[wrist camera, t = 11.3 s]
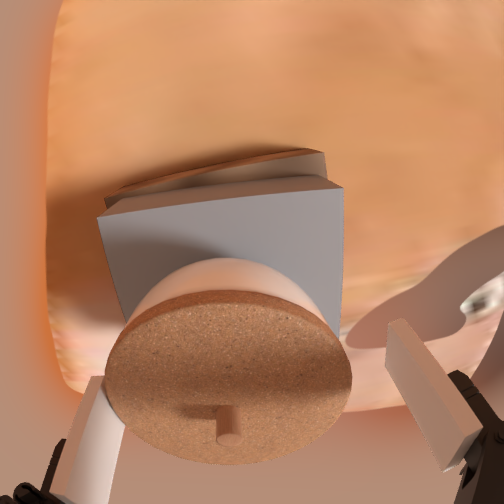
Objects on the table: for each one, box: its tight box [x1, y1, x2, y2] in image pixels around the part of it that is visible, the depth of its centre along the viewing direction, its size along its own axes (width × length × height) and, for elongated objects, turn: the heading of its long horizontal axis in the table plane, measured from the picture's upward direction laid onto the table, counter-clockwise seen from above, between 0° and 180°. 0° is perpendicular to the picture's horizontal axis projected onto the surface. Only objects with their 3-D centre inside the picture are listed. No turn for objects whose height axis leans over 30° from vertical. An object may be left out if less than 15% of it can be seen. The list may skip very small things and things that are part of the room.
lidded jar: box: [105, 258, 352, 465], centre depth 15 cm, size 11×11×9 cm
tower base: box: [104, 148, 327, 209], centre depth 26 cm, size 16×16×5 cm
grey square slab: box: [97, 175, 344, 339], centre depth 21 cm, size 14×14×5 cm
